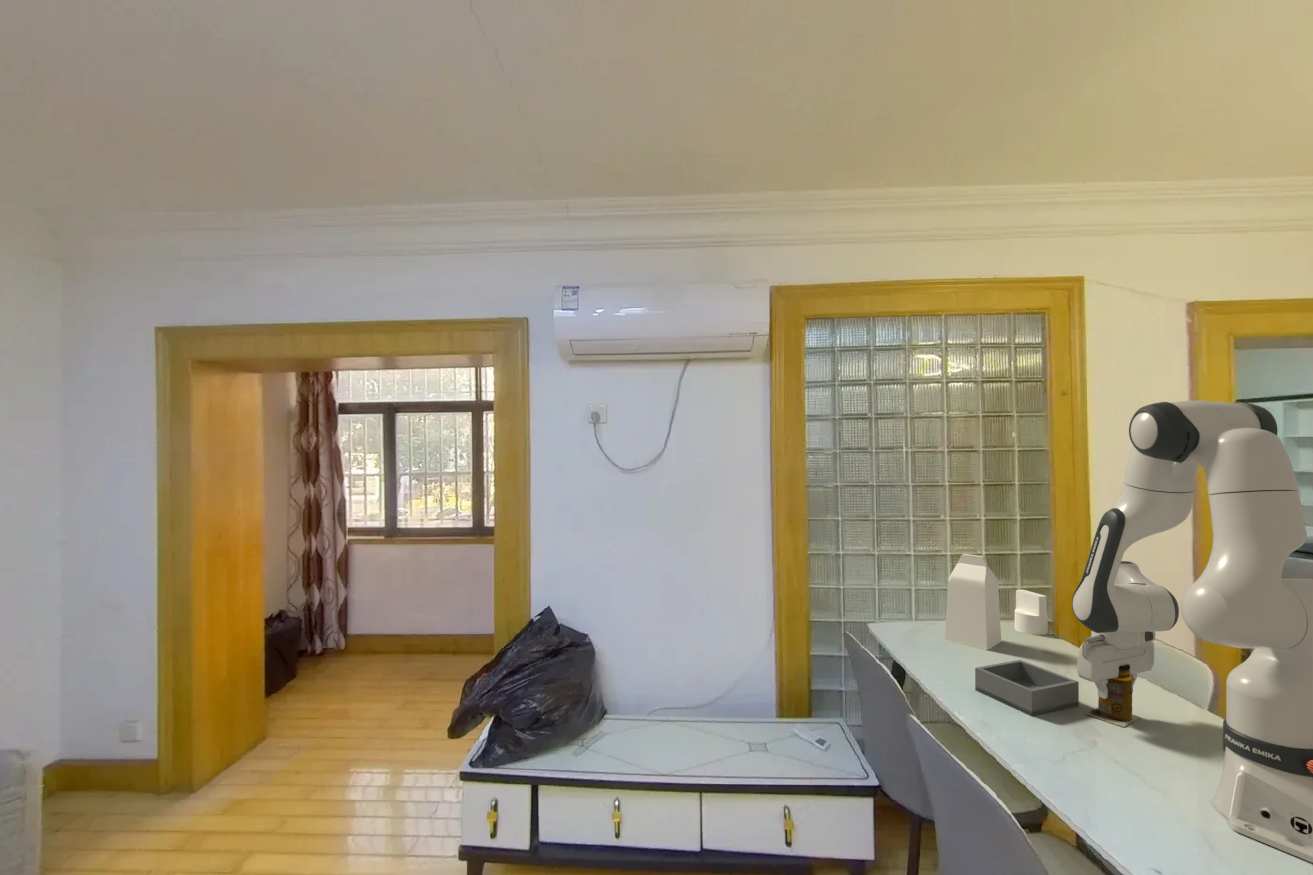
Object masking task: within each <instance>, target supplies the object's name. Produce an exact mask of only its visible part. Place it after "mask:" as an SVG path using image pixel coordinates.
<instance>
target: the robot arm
mask: <svg viewBox="0 0 1313 875" xmlns="http://www.w3.org/2000/svg"><path fill="white" fill-rule="evenodd" d="M1130 419H1131V420H1130V422H1129V427H1128V434H1129V435H1128V436H1129V440H1130V443H1131V444H1132V445H1133V446H1132V448H1131V450H1130V451H1131V452H1130V455H1129V458H1128V462H1127V465H1126V470H1125V475H1124V483H1123V488H1122V491H1121V493H1120V496H1119V498H1118V500H1117V501H1116V503H1115V504H1114V505H1113V506H1112V508H1110V509H1109V510H1107V511H1105V513H1104V514H1103V515H1102V517H1101V518H1100V521H1099V523H1098V526H1097V529H1096V532H1095V533H1094V534H1095V535H1094V538H1093V541H1092V543H1091V544H1092V545H1091V548H1090V551H1089V554H1088V558H1087V561H1086V563H1085V567H1084V571H1083V574H1082V576H1081V579H1080V581H1079V583H1078V586H1077V587H1076V588H1075V591H1074V593H1073V595H1072V599H1071V607H1072V608H1071V609H1072V612H1073V615H1074V616H1075V618H1076V619H1077V621H1079V622H1080V623H1081V625H1083V626H1084V627H1085V628H1087V629H1088V630H1090V631H1091V632H1090V633H1091V634H1090V636H1088V637H1086V638H1085V640H1084V641H1083V642H1082V643H1081V645H1080V647H1079V649H1078V655H1077V661H1076V662H1077V663H1076V664H1077V665H1076V673H1077V675H1078V677H1079V678H1081V679H1083V680H1085V681H1088V682H1091V683H1094V685H1095V686H1096V689H1097V696H1098V698H1099V697H1101V698H1104V699H1106V698H1110V690H1108V689H1107V686H1106V684H1107V683H1108V679H1112V678H1117V677H1118V673H1119V666H1123V665H1127V664H1129V665H1130V672H1131V673H1130V676H1131V677H1132V694H1133V692H1134V684H1135V683H1136V680H1137V679H1138V674H1141V673H1146V672H1150V671H1151V670H1152V669H1153V667H1154V665H1155V644H1154V641H1155V640H1156V632H1158V633H1159V632H1166V631H1170V630H1171V629H1174V627H1175V626H1176V624H1177V622H1178V621H1179V620H1178V619H1179V617H1180V616H1179V615H1180V614H1181V617H1182V619H1183V622H1184V623H1185V625H1186V626H1187V628H1188V629H1189V630H1190V632H1192V633H1193V635H1195V636H1196V637H1197V638H1199V639H1200V640H1202V641H1204V642H1207V643H1211V644H1214V645H1215V644H1216V645H1218V646H1219V645H1220V646H1225V647H1231V648H1234V649H1235V648H1236V649H1252V652H1251V653H1250V655H1249V657H1247V659H1246V660H1244V662H1242V663H1240V664H1239V665H1237V666H1235V667H1234V668H1233V669H1232V670H1231V671H1230V672H1229V674H1228V675H1227V677H1226V685H1225V686H1226V688H1225V689H1226V690H1225V691H1226V692H1225V693H1226V694H1225V695H1226V697H1225V698H1226V700H1225V702H1226V703H1225V704H1226V706H1225V707H1226V708H1225V709H1226V710H1225V711H1226V713H1225V714H1226V715H1225V716H1226V717H1225V718H1224V720H1223V721H1222V732H1221V733H1222V735H1221V736H1222V737H1221V738H1222V749H1223V752H1224V759H1223V760H1224V761H1223V766H1222V772H1221V776H1220V781H1219V784H1218V787H1217V790H1216V792H1215V795H1214V797H1213V799H1212V803H1213V805H1214V807H1215V808H1216V809H1217V810H1218V811H1219V812H1220V813H1221V814H1222V815H1223V816H1224V817H1225V818H1226V819H1227V821H1228V824H1229V826H1230V828H1231V829H1232V830H1234V831H1235V832H1236V833H1239V834H1242V835H1244V836H1247V837H1248V838H1251V839H1254V840H1256V841H1259V842H1261V843H1263V844H1266V845H1268V846H1271V847H1273V848H1276V849H1278V850H1280V851H1283V852H1285V853H1288V854H1291V855H1292V856H1296V857H1298V858H1300V859H1302V860H1304V861H1307V862H1309V863H1312V864H1313V578H1282V577H1283V570H1284V566H1285V563H1286V561H1287V559H1288V558H1289V556H1290V555H1291V554H1292V553H1293V552H1295V551H1297V550H1298V549H1300V548H1301V547H1302V546H1304V544H1305V543H1306V541H1307V537H1308V535H1307V534H1308V533H1307V529H1306V528H1307V527H1306V522H1305V517H1304V513H1303V507H1302V502H1301V495H1300V492H1299V491H1300V490H1299V487H1298V486H1299V484H1298V482H1297V478H1296V475H1295V470H1294V467H1293V465H1292V462H1291V460H1290V459H1291V458H1290V457H1289V454H1288V452H1287V449H1286V448H1285V446H1284V443H1283V442H1282V440H1281V438H1280V437H1279V436H1278V424H1277V421H1276V418H1275V417H1274V415H1273V414H1272V413H1271V412H1270V411H1269V410H1268V409H1266V408H1265V407H1263V406H1260V405H1258V404H1253V403H1248V402H1243V401H1242V402H1241V401H1236V402H1235V401H1233V402H1226V401H1207V400H1198V399H1197V400H1184V401H1183V400H1182V401H1174V402H1173V401H1172V402H1169V401H1160V402H1155V403H1151V404H1147V405H1144V406H1142V407H1140V408H1138V409H1137V410H1136V411H1135V413H1134V414H1133V416H1132V418H1130ZM1200 466H1201V468H1203V471H1204V474H1205V479H1206V480H1205V481H1206V488H1207V496H1208V502H1209V509H1210V517H1211V529H1212V547H1211V550H1210V551H1211V552H1210V555H1209V560H1208V561H1207V564H1206V566H1205V568H1204V570H1203V571H1202V573H1201V575H1199V577H1198V578H1197V580H1195V581H1194V582H1193V583H1192V584H1191V585H1189V586H1188V587H1187V588H1186V589H1185V590H1184V592H1183V593H1182V595H1181V598H1180V605H1179V603H1178V601H1177V598H1175V596H1174V595H1173V594H1172V592H1170V590H1168V589H1167V588H1165V587H1164V586H1162V585H1158V584H1156V583H1154V582H1153V581H1152V580H1150V579H1148V577H1146V576H1145V575H1144V574H1143V573H1142V572H1141V570H1140V568H1139V566H1138V564H1136V563H1134V562H1133V561H1127V560H1125V561H1124V560H1123V557H1124V554H1125V553H1126V551H1127V550H1128V549H1129V548H1130V547H1131V546H1132V545H1133V544H1136V543H1137V542H1139V541H1141V540H1143V539H1144V538H1148V537H1150V536H1153V535H1156V534H1160V533H1163V532H1166V531H1169V530H1172V529H1174V528H1175V527H1177V526H1179V525H1181V524H1182V523H1183V522H1185V521H1186V520H1187V519H1188V517H1189V516H1190V513H1191V511H1192V508H1193V505H1194V498H1195V491H1196V490H1195V489H1196V482H1197V481H1196V479H1197V471H1198V468H1199V467H1200ZM1179 606H1180V607H1179Z"/></svg>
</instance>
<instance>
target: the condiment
mask: <svg viewBox="0 0 1313 875" xmlns="http://www.w3.org/2000/svg"><path fill="white" fill-rule="evenodd" d="M1130 673H1131V672H1130V665H1129V664H1127V665H1123V666H1119V673H1118V677H1117V678H1112V679H1108V683H1107V684H1106V686H1107V689H1108V690H1110V698H1106V699H1104V698H1101V697H1099V696H1098V702H1097V704H1098V707H1096V708H1093V709H1091V710H1089V711H1087V712H1085V714H1086V715H1087V716H1090V717H1093V718H1096V719H1098V720H1101V721H1104V722H1106V723H1111V724H1114V725H1116V726H1120V727H1123V728H1124V727H1126V726H1128V725H1129V724H1131V723H1133V722H1135V721H1137V720H1138V719H1141V716H1139V715H1136V714H1133V693H1132V677H1131V676H1130Z"/></svg>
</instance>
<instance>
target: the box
mask: <svg viewBox="0 0 1313 875" xmlns="http://www.w3.org/2000/svg"><path fill="white" fill-rule="evenodd" d="M974 669H975V670H974V672H975V674H974V675H975V676H974V679H975V681H974V684H975V685H974V687H975V690H974V691H976V692H978V693H980V694H983V695H985V696H987V695H988V696H987V697H989V696H990V697H989V698H991V697H992V698H991V699H993V698H994V700H995V699H996V700H995V701H998V702H1000V703H1001V704H1005V705H1007V706H1009V707H1011V708H1013V709H1016V710H1018V711H1019V710H1020V712H1022V713H1024V714H1025V715H1027V716H1031V717H1033V716H1038V715H1042V714H1043V715H1044V714H1046V713H1052V712H1057V711H1060V710H1064V709H1065V710H1066V709H1069V708H1074V707H1078V706H1079V704H1080V702H1079V700H1080V699H1079V698H1080V695H1079V692H1080V690H1079V686H1080V683H1079V681H1078V680H1075V679H1073V678H1070V677H1068V676H1064V675H1062V674H1059V673H1056V672H1054V671H1051V670H1049V669H1046V668H1043V667H1040V666H1038V665H1035V664H1032V663H1029V662H1027V661H1024V660H1021V659H1017V660H1011V661H1006V662H999V663H993V664H989V665H983V666H978V667H975V668H974Z"/></svg>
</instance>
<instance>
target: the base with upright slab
mask: <svg viewBox="0 0 1313 875" xmlns="http://www.w3.org/2000/svg"><path fill="white" fill-rule="evenodd" d="M1048 618H1049V617H1048V613H1047V595H1044V594H1040V593H1037V592H1033V591H1030V590H1026V589H1015V609H1014V630H1015V631H1016V632H1019V633H1021V634H1026V635H1031V636H1033V635H1034V636H1045V635H1047V634H1048V629H1049V628H1048V626H1049V624H1048V623H1049V622H1048V621H1049V620H1048Z"/></svg>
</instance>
